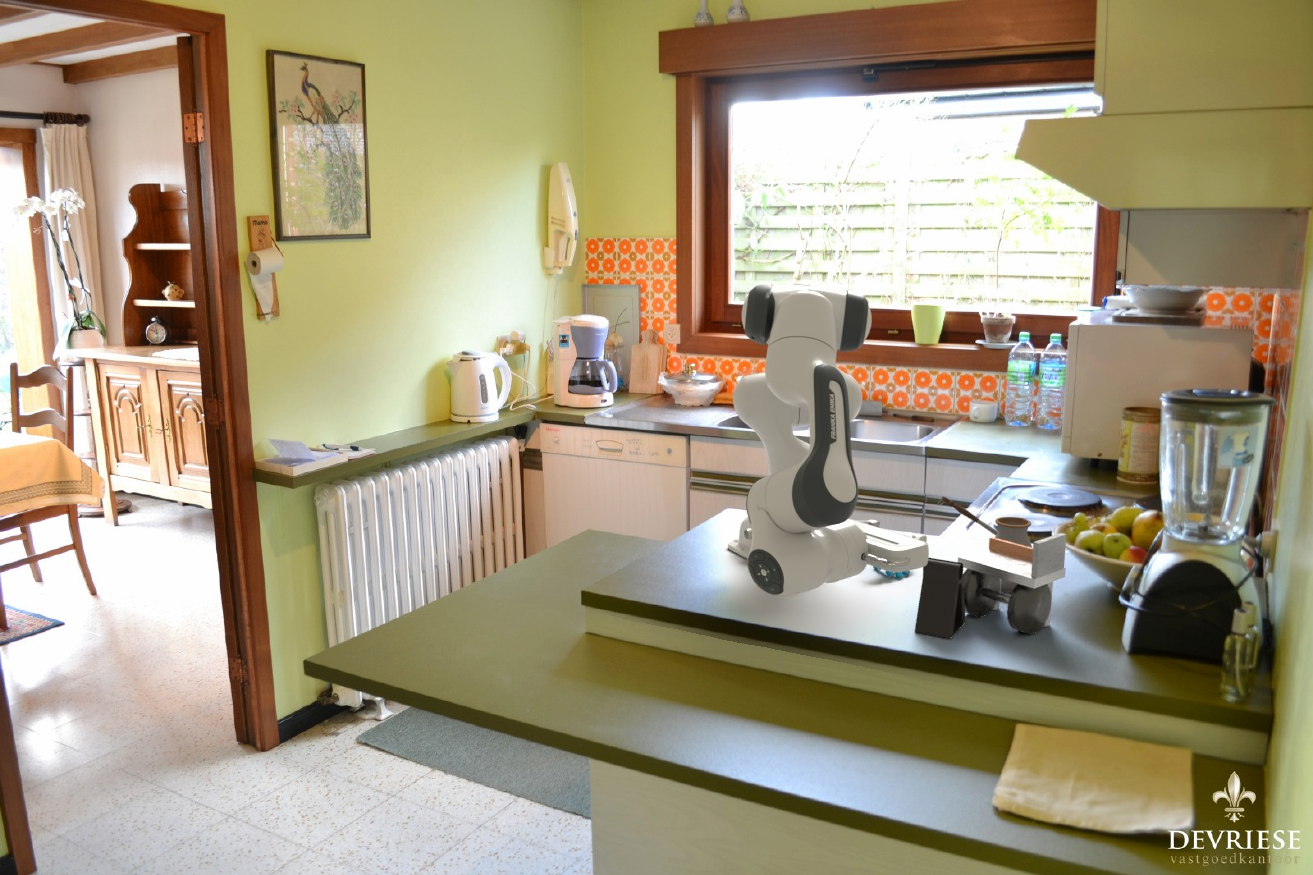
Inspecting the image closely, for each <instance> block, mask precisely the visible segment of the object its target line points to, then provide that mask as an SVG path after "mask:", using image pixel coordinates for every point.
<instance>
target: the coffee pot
mask: <svg viewBox="0 0 1313 875" xmlns="http://www.w3.org/2000/svg"><path fill="white" fill-rule="evenodd" d="M941 501H942V503H940V502H941ZM944 503H947V504H948V506H949V507H951V508H954V509H955V510H956V511H957V512H958V513H959V514H961V515H963V516H964V517H966V518H968V519H970V520H971V521H973V522H974V523H976V524H978V525H980V526H981V527H983V528H984V529H985V530H987V531H989V533H991V534H993V535H994V536H995V537H994V538H997V539H1001V540H1005V541H1009V542H1013V543H1016V544H1020V545H1024V546H1028V547H1032V548H1033V545H1032V543H1031V540H1030V538H1029V535H1028V531H1029V527H1031V526H1032V522H1031V521H1030V520H1028V519H1026V518H1024V517H1019V516H1017V517H1016V516H1002V517H998V518H996V519H995V524H996V525H997V529H995V528H993V527H992V526H991V525H989V524H988V523H986V522H984V521H982V520H981V519H980V518H979V517H977V516H975V515H974V514H973V513H972V512H970V511H969V510H968V509H967V508H965V507H963V506H961V505H959V504H957V503H955V501H953V500H950V499H949V498H948V497H945V496H942V497H941V498H940V500H939V501H938V503H937V505H938V506H942V505H943V504H944ZM1016 585H1017V583H1014V582H1010V581H1007V580H1004V579H1001V590H1000V592H1002V593H1010V594H1011V593H1012V591H1013V589H1014V588H1015V586H1016Z"/></svg>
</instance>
